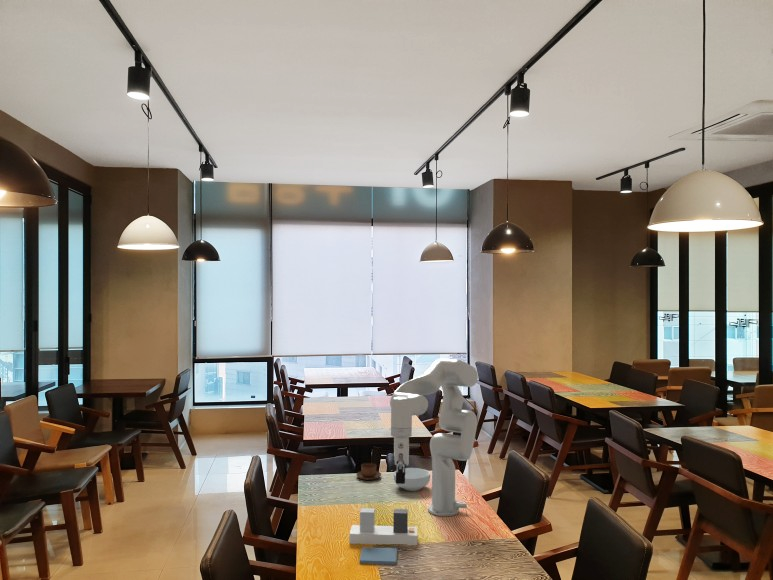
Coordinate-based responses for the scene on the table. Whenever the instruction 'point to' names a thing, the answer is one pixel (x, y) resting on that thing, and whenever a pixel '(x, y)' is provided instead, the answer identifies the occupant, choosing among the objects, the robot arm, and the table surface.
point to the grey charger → (367, 519)
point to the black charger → (400, 521)
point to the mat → (378, 555)
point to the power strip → (382, 536)
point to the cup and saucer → (368, 472)
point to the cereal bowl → (414, 479)
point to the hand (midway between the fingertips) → (400, 479)
